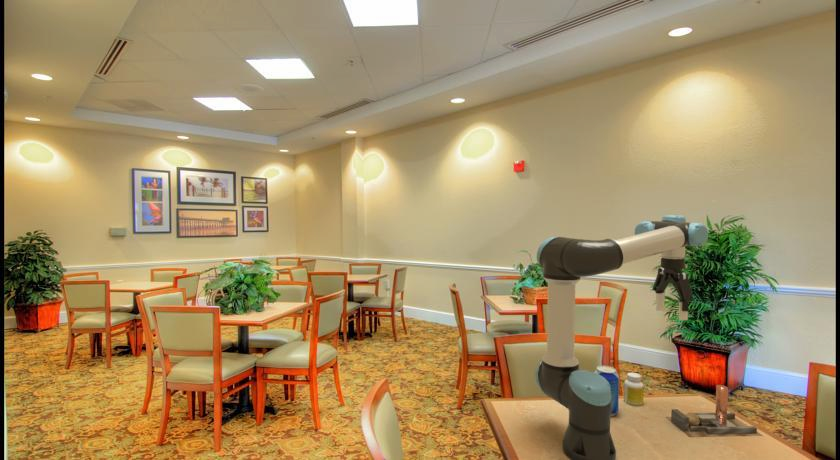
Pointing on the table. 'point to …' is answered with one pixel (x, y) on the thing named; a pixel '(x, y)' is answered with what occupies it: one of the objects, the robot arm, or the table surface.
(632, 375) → the pill bottle
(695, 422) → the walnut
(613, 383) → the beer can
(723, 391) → the lever handle
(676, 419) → the base
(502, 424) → the table surface
